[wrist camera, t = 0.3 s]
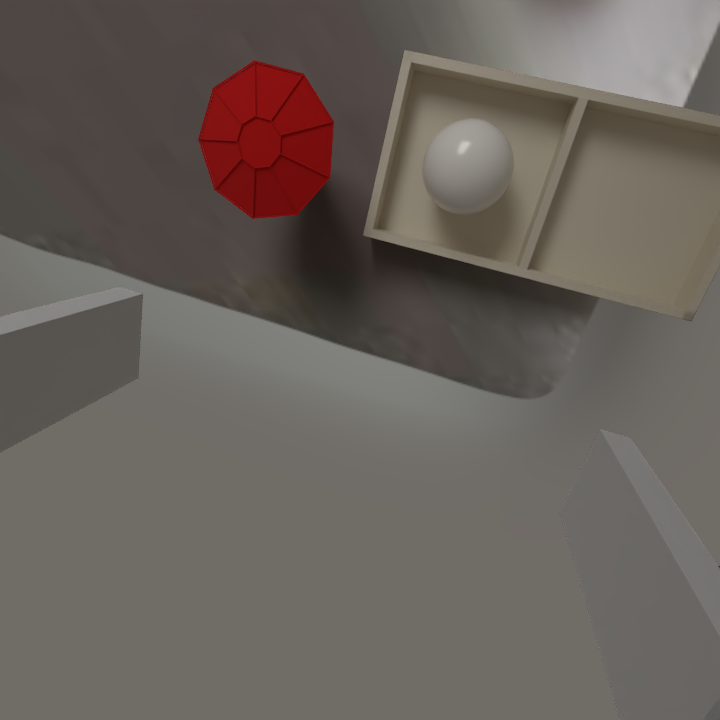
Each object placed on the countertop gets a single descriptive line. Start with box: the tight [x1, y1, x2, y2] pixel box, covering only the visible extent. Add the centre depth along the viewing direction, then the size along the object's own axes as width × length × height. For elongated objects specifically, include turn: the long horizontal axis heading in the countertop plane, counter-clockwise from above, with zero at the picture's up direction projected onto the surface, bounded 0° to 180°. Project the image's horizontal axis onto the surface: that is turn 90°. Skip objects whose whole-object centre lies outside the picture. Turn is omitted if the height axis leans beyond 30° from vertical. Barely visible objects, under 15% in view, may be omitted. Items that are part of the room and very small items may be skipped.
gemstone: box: [198, 60, 334, 219], centre depth 32 cm, size 9×9×10 cm
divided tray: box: [363, 50, 720, 321], centre depth 33 cm, size 12×24×3 cm, turn 77°
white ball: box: [422, 118, 514, 215], centre depth 31 cm, size 6×6×6 cm
